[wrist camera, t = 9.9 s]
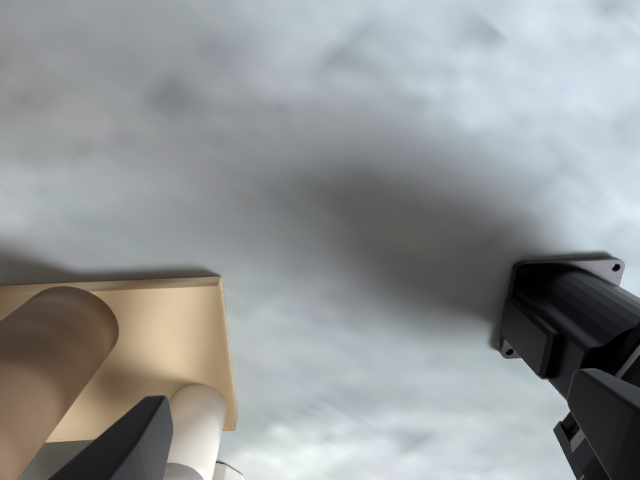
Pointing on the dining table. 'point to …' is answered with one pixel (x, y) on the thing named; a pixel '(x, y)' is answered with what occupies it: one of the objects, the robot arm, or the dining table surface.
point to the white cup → (225, 473)
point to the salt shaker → (195, 432)
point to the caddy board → (147, 348)
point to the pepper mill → (47, 367)
